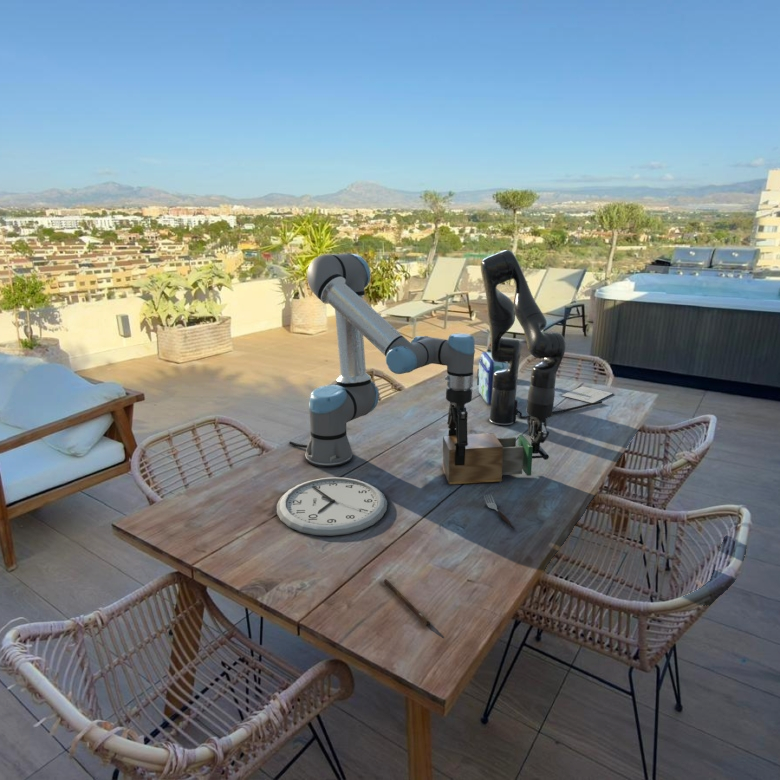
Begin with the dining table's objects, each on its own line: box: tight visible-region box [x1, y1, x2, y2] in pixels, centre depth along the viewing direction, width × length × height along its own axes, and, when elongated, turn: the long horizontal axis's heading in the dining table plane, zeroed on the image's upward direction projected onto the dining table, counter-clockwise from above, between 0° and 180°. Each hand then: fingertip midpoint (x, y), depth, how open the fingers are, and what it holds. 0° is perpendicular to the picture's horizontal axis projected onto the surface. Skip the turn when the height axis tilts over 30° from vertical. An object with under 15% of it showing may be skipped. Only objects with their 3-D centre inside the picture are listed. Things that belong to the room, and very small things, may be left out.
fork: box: [483, 493, 516, 530], centre depth 139 cm, size 3×16×2 cm, turn 15°
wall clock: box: [276, 476, 388, 537], centre depth 142 cm, size 30×2×30 cm
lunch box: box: [476, 351, 510, 406], centre depth 230 cm, size 26×11×21 cm, turn 179°
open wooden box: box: [442, 432, 503, 485], centre depth 159 cm, size 16×11×11 cm
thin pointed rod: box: [383, 578, 429, 627], centre depth 106 cm, size 15×1×1 cm, turn 34°
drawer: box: [496, 434, 550, 477], centre depth 160 cm, size 20×9×9 cm, turn 94°
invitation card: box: [560, 385, 613, 404], centre depth 242 cm, size 21×1×15 cm
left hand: (455, 456), depth 159 cm, fingers closed on open wooden box, 11 cm apart
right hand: (534, 452), depth 161 cm, fingers closed
